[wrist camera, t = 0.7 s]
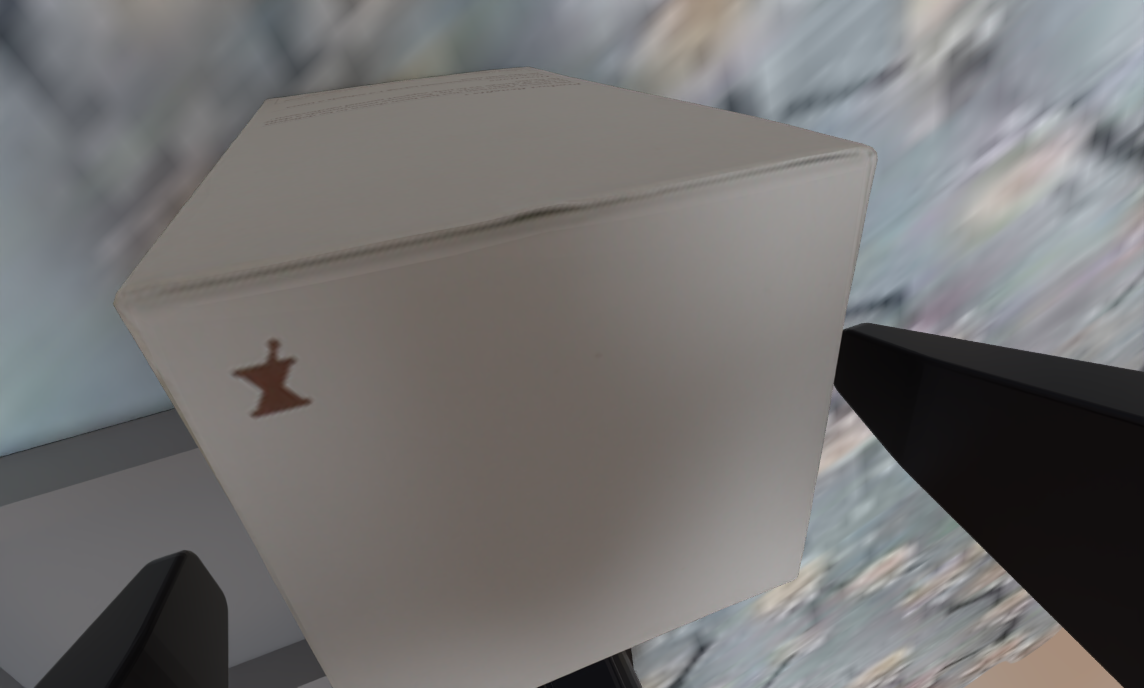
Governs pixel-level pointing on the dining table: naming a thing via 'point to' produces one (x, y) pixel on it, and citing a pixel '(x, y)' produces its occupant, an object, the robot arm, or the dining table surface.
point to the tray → (130, 549)
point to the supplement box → (508, 362)
